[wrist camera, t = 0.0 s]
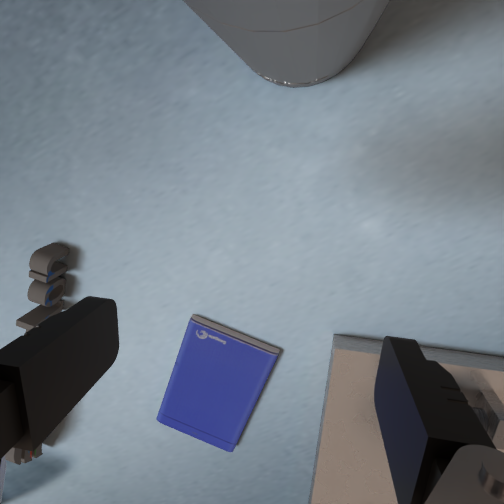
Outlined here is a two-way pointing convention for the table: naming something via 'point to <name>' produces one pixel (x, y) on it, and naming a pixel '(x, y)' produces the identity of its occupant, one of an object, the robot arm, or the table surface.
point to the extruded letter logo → (42, 309)
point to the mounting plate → (366, 422)
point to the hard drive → (215, 383)
